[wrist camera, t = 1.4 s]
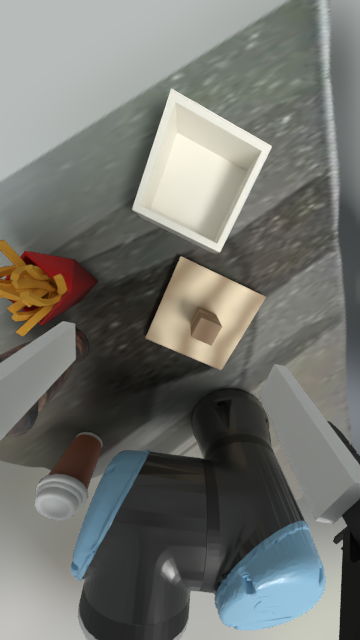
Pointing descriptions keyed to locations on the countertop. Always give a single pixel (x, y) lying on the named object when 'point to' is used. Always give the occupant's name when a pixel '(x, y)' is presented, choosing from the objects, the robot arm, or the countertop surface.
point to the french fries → (41, 286)
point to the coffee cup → (69, 479)
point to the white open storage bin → (198, 173)
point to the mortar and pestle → (32, 413)
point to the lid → (203, 314)
